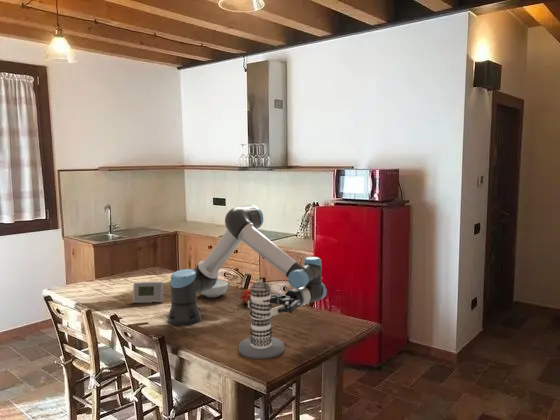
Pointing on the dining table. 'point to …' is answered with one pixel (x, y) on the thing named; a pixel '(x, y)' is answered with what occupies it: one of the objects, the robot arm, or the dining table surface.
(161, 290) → the digital clock
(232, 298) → the dining table surface
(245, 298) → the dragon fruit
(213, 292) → the cereal bowl
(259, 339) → the decorative candle
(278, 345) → the slate plate
